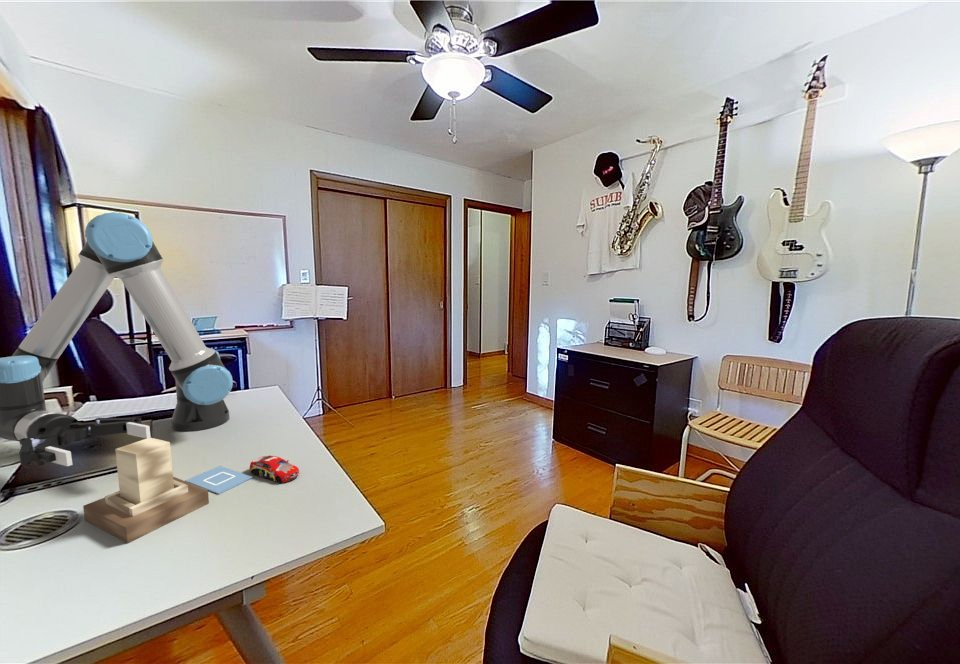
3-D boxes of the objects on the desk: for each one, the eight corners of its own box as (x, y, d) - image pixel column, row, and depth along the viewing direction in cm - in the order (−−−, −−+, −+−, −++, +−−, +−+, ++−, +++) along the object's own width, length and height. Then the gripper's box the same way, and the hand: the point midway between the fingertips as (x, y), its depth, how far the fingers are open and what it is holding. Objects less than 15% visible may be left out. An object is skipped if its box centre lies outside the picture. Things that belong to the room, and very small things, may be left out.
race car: (304, 476, 95) (303, 461, 95) (284, 487, 90) (284, 470, 90) (266, 464, 101) (266, 449, 100) (246, 473, 96) (245, 458, 95)
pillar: (154, 487, 83) (150, 437, 81) (174, 492, 81) (170, 442, 79) (120, 502, 77) (115, 449, 76) (141, 508, 75) (135, 454, 74)
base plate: (166, 486, 89) (165, 467, 88) (208, 503, 83) (207, 483, 82) (84, 520, 76) (82, 498, 75) (127, 543, 70) (125, 519, 69)
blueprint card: (220, 466, 98) (219, 465, 98) (252, 478, 93) (252, 476, 93) (185, 481, 91) (185, 480, 91) (218, 494, 86) (218, 492, 86)
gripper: (117, 426, 100) (176, 438, 94) (-34, 471, 77) (30, 492, 70) (113, 397, 99) (173, 408, 92) (-41, 435, 76) (24, 453, 69)
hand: (111, 444), depth 81 cm, fingers open, 13 cm apart
